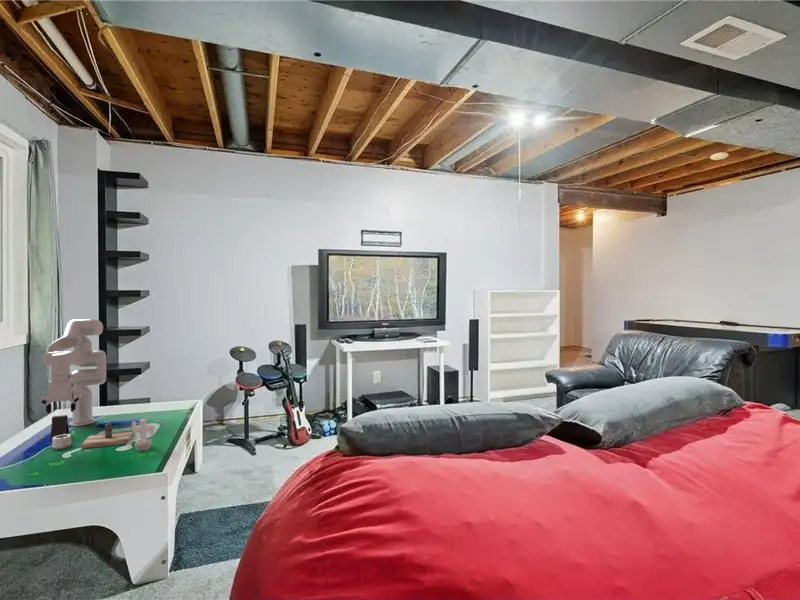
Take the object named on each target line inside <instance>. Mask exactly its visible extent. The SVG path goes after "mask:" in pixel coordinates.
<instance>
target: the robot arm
mask: <svg viewBox="0 0 800 600" xmlns="http://www.w3.org/2000/svg"><path fill="white" fill-rule="evenodd" d="M103 330H104V325H103V323H102V321H101V320H97V319H94V318H92V319H91V318H86V319H85V318H82V319H71V320H70V321H67V324H66V326H65V328H64V330H63V331H64V332H63V333H62V336H61V337H60V338H58V339H56V340H54V341H53V342H51V343H50V344H49V345H48V346H47V348H46V350H45V352H44V355H43V364H44V366H46V367H50V381H49V382H48V386H47V387H48V388H47V393H45V394H43V395H41V396H39V397H38V398H39V401H40V402H41V403H42V404H43V405H44V406H45V412H46V413H47V415H49V414H51V413H52V402H65V401H69V402H70V412H71V413H72V416H71V417H72V421H71V420H70V422H68V426H69V427H70V426H71V427H80V426H86V425H87V426H88V425H91V424H94V423H95V422H96V421H97V420H96V418H94V417H93V392H92V389H91V388H90V387H89V386H98V385H103V384H104V383H106V381H107V354H106V352H105V350H100V349H97V350H92V347H93V346H92V344H93V343H92V340H91V339H90V338H89V337H88V336H100V335H101V334H103V332H104V331H103ZM68 349H73V350H68ZM70 366H74V367H76V368H84V369H76V370H73V371H72V372H71V367H70ZM89 367H96V368H89ZM45 398H47V399H45Z"/></svg>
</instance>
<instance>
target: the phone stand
mask: <svg viewBox="0 0 800 600" xmlns="http://www.w3.org/2000/svg"><path fill="white" fill-rule="evenodd" d="M69 427H70V425H69V420H68V414H66V415H53V416H52V417H51V428H50V436H49V437H50V438H49V442H52V438H53V437H54V436H57V435H61V434H71V433H70V428H69Z"/></svg>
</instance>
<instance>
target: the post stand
mask: <svg viewBox="0 0 800 600" xmlns="http://www.w3.org/2000/svg"><path fill="white" fill-rule="evenodd" d="M133 434H134V435H135V433H133V431H132V430H130V431H120V432H119V431H118V432H113V424H112V422H109V423H105V424H104V433H99V434H89V436H88V437H87V438H86V439H85V440H84V441H83V442H82V443H81V444H80V447H81V449H88V448H98V447H107V446H115V445H125V443H126V444H129V443H130V441H131V439H132V438H133V437H134V435H133ZM131 437H132V438H131ZM129 440H130V441H129ZM128 442H129V443H128Z"/></svg>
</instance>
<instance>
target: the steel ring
mask: <svg viewBox="0 0 800 600" xmlns="http://www.w3.org/2000/svg"><path fill="white" fill-rule="evenodd" d="M51 444H52V445H51V446H52V449H54V450H58V449H59V450H60V449H65V448H68V447H70V446H71V445H72V434H71V433H70V434H61V435H57V436H54V437H53V438H52V443H51Z"/></svg>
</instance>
